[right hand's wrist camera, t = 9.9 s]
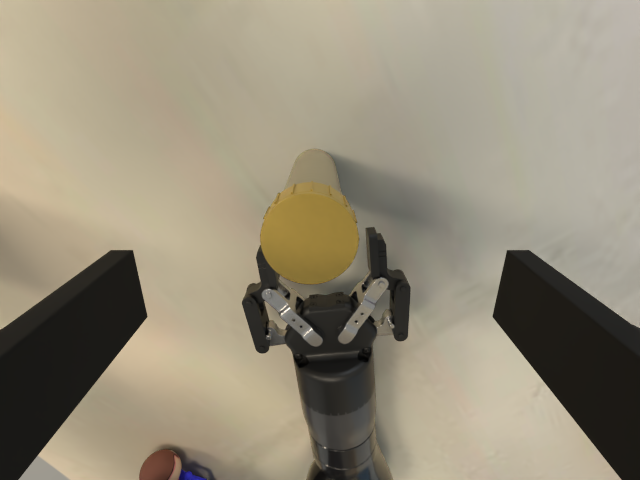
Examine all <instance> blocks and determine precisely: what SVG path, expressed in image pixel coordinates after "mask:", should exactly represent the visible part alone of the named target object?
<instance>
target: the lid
mask: <svg viewBox="0 0 640 480" xmlns="http://www.w3.org/2000/svg"><path fill="white" fill-rule="evenodd" d="M263 219H265V220H264V223H263V225H262V229H261V234H260V240H261V248H262V251H263V254H264V256H265V259H266V260H267V262H268V263H269V265H270V266H271V267H272V268H273V269H274V270H275V271H276V272H277V273H278V274H280V275H281V276H282V277H284V278H286V279H288V280H290V281H293V282H296V283H301V284H319V283H324V282H327V281H330V280H332V279H334V278H336V277H337V276H339V275H340V274H342V273H343V272H344V271H345V270H346V269H347V268H348V267H349V266H350V264H351V263H352V261H353V260H354V258H355V255H356V253H357V249H358V243H359V236H358V229H357V226H356V223H357V220H356V216H355V213H354V210H352V209H351V207H350V205H349V203H348V201H347V200H346V197H345V195H344V196H343V195H342V194H341V193H339V192H338V191H337V190H335V189H334V188H332V187H331V185H329V186H328V185H325V184H322V183H316V182H313V181H311V182H304V183H299V184H296V185H295V184H293V186H291V187H289V188H287V189H285V190H284V191H283V192H281V193H278V195H277V197H276V199H275V200H274V201H273V203H272V205H271V207H268V210H267V212H266V214H265V216H264V218H263Z"/></svg>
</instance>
